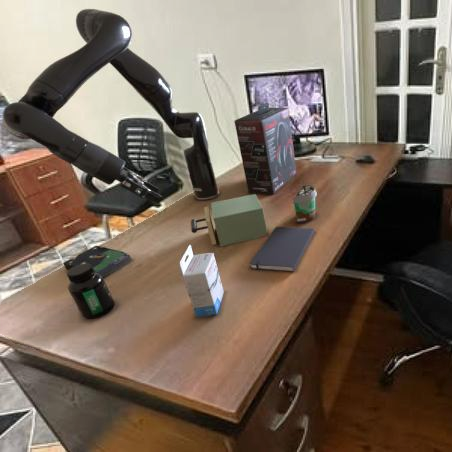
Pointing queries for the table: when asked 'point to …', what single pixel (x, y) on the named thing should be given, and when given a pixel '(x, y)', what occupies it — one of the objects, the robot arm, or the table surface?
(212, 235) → the drawer
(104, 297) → the supplement bottle
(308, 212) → the food container
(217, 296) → the ink box
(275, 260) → the notebook
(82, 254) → the disk drive
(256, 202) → the cabinet
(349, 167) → the table surface
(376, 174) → the table surface
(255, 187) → the headset box
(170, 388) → the table surface
